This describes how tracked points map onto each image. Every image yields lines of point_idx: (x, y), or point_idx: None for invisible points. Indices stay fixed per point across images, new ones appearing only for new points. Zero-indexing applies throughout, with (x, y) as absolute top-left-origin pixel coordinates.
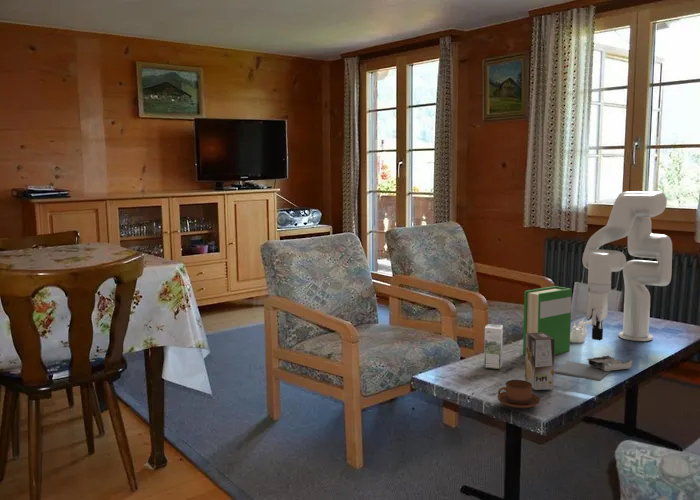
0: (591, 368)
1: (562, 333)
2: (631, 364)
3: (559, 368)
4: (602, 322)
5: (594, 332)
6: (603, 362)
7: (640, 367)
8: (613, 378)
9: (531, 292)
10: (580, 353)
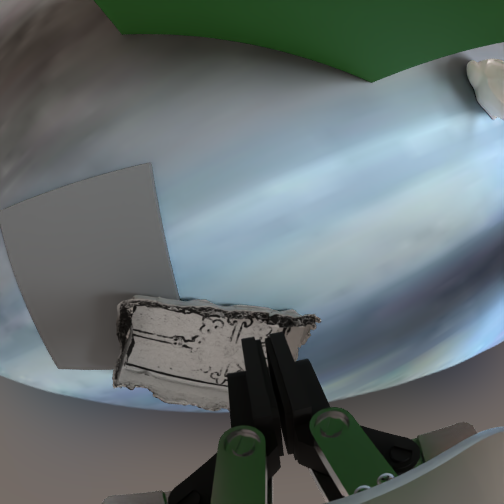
0: None
1: (364, 12)
2: None
3: (26, 208)
4: (326, 501)
5: (230, 408)
6: (261, 307)
7: None
8: None
9: None
10: (371, 138)
